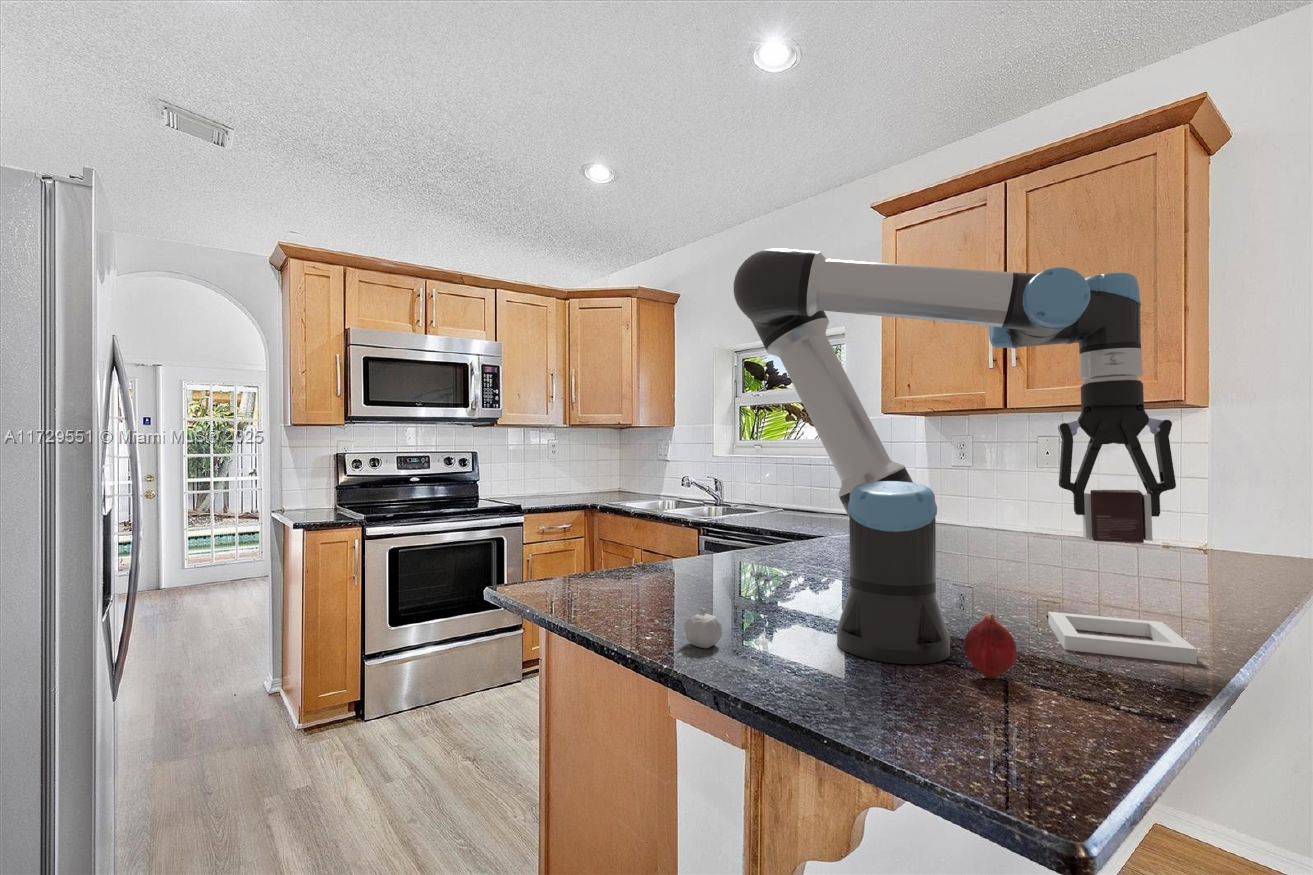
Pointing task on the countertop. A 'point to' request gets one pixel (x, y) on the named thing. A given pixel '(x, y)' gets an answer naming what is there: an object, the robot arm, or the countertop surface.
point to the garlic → (703, 630)
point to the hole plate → (1161, 648)
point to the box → (1117, 516)
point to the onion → (990, 647)
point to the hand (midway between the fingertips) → (1116, 538)
